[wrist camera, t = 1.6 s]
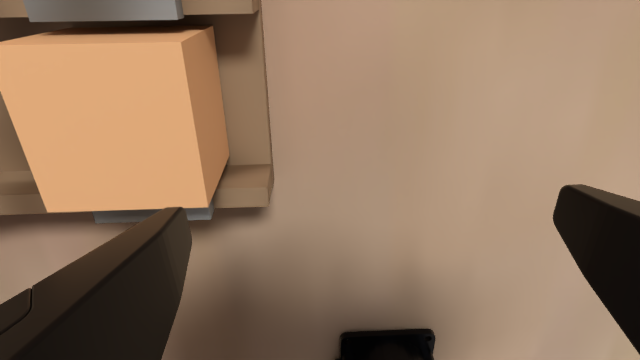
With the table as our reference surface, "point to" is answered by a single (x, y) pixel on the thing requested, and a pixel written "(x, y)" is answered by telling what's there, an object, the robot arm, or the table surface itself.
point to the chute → (235, 78)
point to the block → (118, 115)
